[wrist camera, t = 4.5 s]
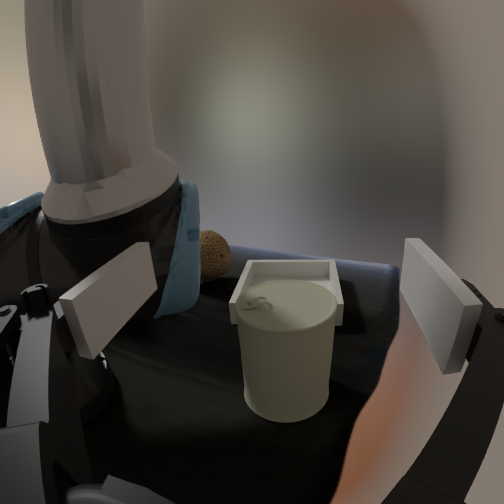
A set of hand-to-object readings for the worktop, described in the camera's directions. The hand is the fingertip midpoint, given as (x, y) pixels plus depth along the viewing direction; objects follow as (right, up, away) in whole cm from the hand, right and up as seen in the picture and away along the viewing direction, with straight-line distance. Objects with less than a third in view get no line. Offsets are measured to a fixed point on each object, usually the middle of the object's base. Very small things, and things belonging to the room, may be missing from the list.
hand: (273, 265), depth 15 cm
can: (+3, -15, +16) cm, 22 cm away
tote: (+5, -7, +36) cm, 37 cm away
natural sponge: (-9, -5, +44) cm, 45 cm away
